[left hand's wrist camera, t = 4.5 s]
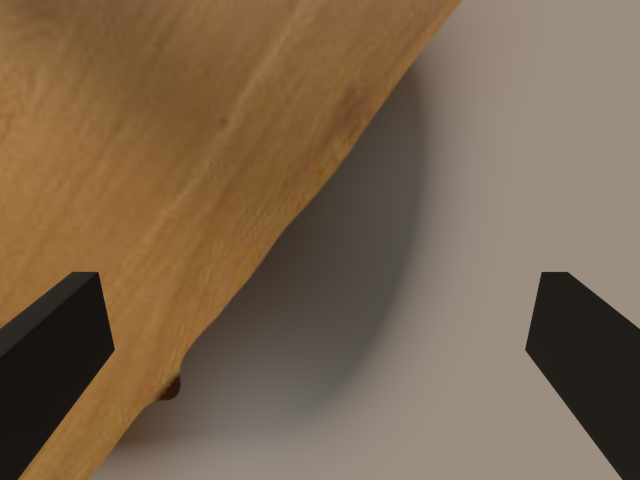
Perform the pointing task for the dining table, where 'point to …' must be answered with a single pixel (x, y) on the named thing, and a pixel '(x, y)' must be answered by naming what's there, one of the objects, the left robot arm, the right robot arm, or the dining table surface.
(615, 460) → the left robot arm
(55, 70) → the dining table surface
